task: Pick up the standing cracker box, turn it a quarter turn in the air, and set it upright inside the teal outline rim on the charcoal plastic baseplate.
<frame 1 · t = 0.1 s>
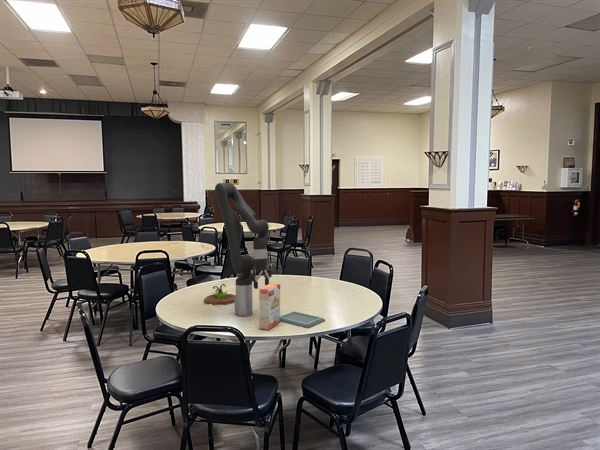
hand: (261, 287, 234), 17 cm above the table, tool pointing down, fingers open, 8 cm apart
plant: (221, 301, 272), on the table
baseplate: (300, 320, 231), on the table
cracker box: (270, 326, 223), on the table
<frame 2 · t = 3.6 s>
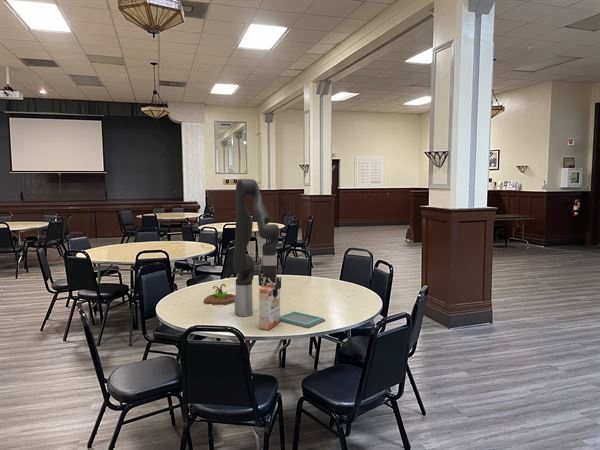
hand: (269, 295, 222), 16 cm above the table, tool pointing down, fingers closed on cracker box, 7 cm apart
cracker box: (270, 326, 223), on the table, touching gripper
everything else where it was.
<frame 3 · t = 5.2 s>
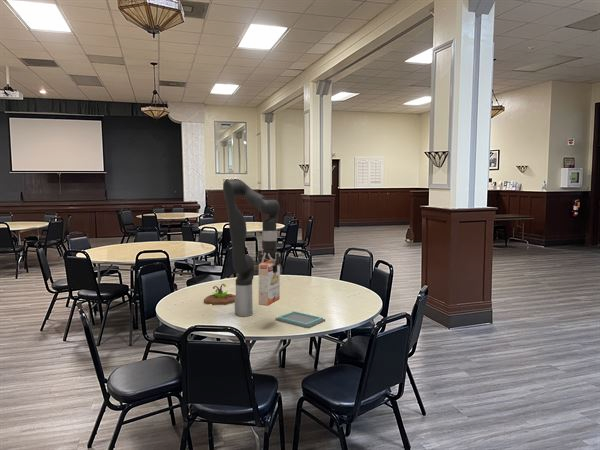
hand: (269, 271, 221), 28 cm above the table, tool pointing down, fingers closed on cracker box, 7 cm apart
cracker box: (269, 302, 222), point 12 cm above the table, touching gripper
everything else where it was.
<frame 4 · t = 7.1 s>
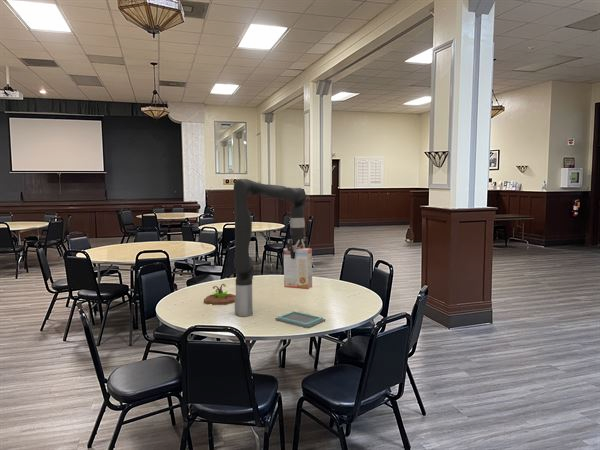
hand: (297, 257, 228), 34 cm above the table, tool pointing down, fingers closed on cracker box, 7 cm apart
cracker box: (298, 287, 229), point 18 cm above the table, touching gripper
everything else where it was.
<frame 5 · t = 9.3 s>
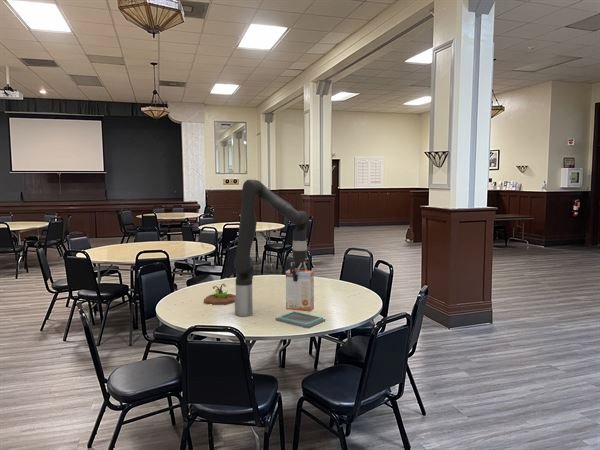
hand: (299, 280, 229), 22 cm above the table, tool pointing down, fingers closed on cracker box, 7 cm apart
cracker box: (300, 309, 231), point 6 cm above the table, touching gripper
everything else where it was.
when the fingers open (19 cm above the table, at t = 10.8 s): cracker box drops 2 cm, resting on baseplate.
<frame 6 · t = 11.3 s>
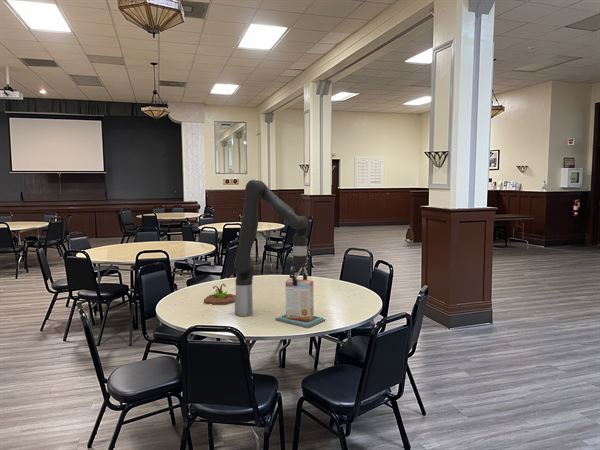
hand: (300, 284, 230), 20 cm above the table, tool pointing down, fingers open, 8 cm apart
cracker box: (299, 319, 231), point 1 cm above the table, touching baseplate
everything else where it was.
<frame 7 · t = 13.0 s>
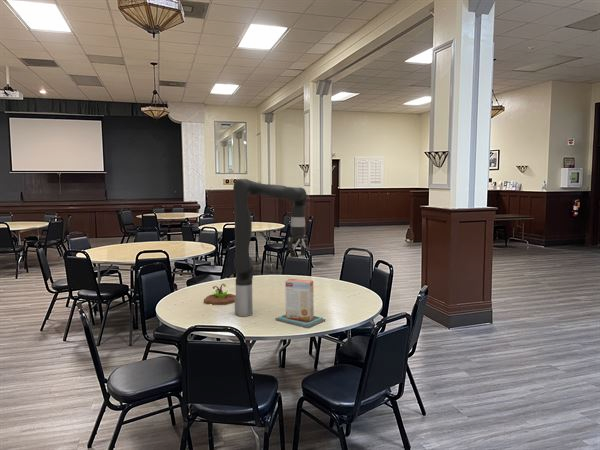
hand: (297, 256, 230), 35 cm above the table, tool pointing down, fingers open, 8 cm apart
nothing on the table moved.
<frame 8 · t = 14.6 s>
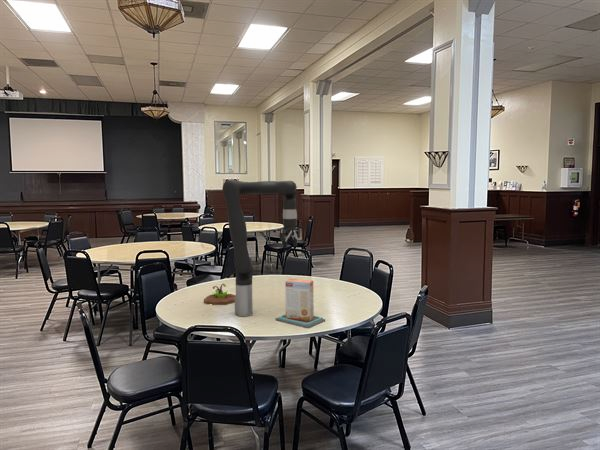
hand: (290, 247, 237), 38 cm above the table, tool pointing down, fingers open, 8 cm apart
nothing on the table moved.
at the end: cracker box 0.3 cm off-centre on the baseplate, point 0.8 cm above the baseplate's base; cracker box tilted 0°; the gripper is holding nothing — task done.
